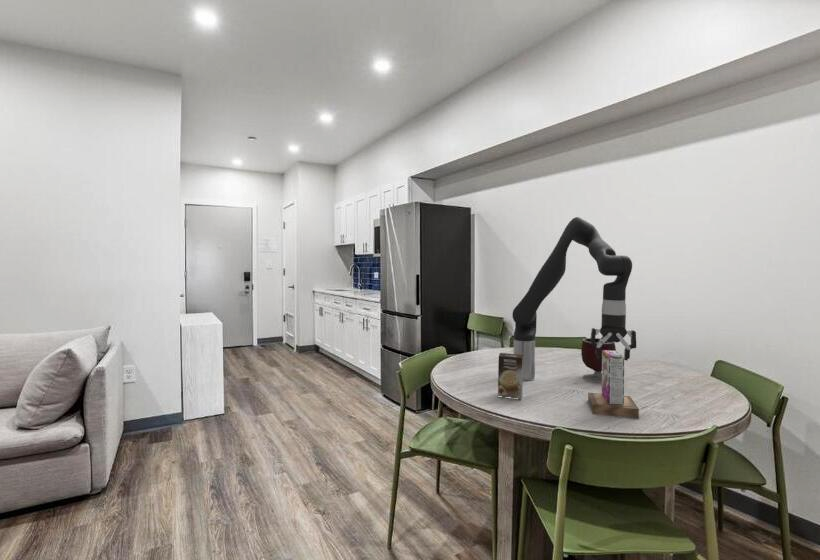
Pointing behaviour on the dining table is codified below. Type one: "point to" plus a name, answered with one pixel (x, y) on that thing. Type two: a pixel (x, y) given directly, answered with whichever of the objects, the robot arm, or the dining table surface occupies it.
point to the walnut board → (612, 406)
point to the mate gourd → (594, 358)
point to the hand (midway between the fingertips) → (612, 359)
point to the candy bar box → (613, 377)
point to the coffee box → (510, 375)
